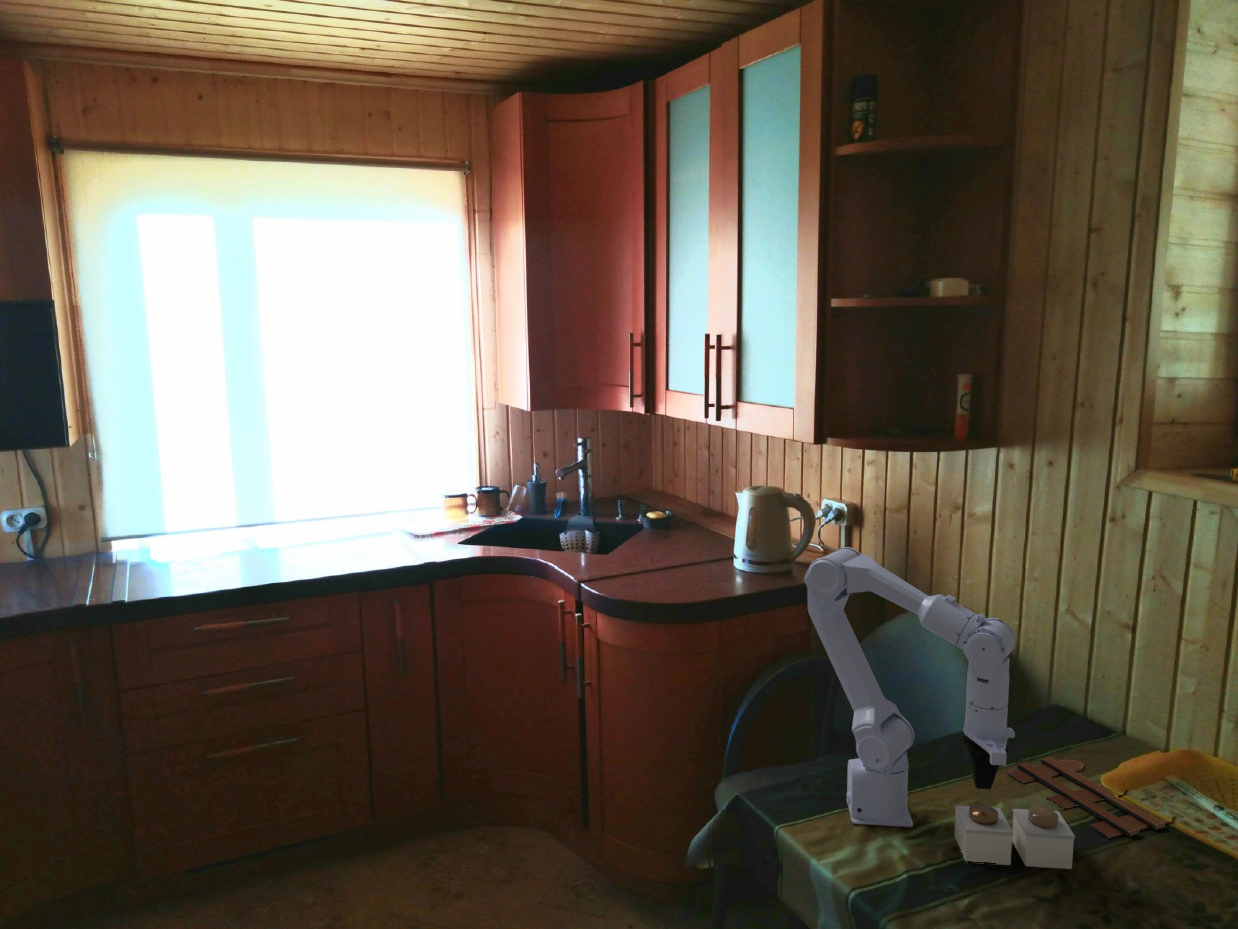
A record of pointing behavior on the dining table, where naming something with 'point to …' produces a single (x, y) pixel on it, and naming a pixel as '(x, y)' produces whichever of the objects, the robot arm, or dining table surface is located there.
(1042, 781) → the decorative fence
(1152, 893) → the dining table surface
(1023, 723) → the dining table surface
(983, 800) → the dining table surface
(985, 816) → the left press plunger
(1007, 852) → the left press
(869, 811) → the robot arm
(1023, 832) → the block
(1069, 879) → the dining table surface
